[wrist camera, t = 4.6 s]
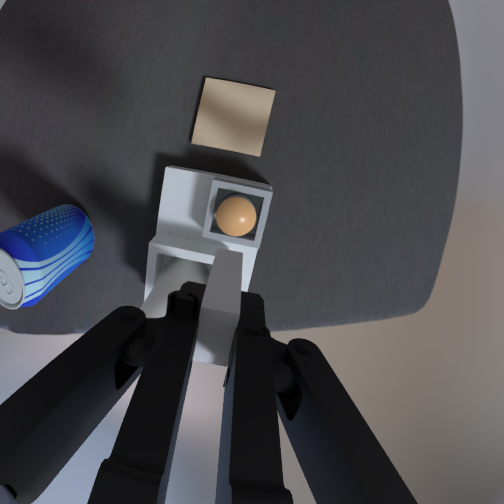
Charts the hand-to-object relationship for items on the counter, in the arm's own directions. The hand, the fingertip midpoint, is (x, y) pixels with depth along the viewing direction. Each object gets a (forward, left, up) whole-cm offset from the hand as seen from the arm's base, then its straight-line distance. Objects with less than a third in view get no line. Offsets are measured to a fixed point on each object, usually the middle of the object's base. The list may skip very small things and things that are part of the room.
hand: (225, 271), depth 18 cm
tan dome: (0, 0, -17) cm, 17 cm away
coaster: (-10, -3, -20) cm, 22 cm away
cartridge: (+9, -4, -17) cm, 20 cm away
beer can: (+8, -22, -20) cm, 31 cm away
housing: (+5, -3, -20) cm, 21 cm away
